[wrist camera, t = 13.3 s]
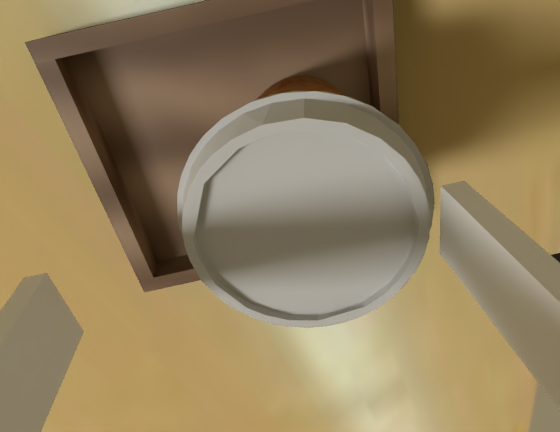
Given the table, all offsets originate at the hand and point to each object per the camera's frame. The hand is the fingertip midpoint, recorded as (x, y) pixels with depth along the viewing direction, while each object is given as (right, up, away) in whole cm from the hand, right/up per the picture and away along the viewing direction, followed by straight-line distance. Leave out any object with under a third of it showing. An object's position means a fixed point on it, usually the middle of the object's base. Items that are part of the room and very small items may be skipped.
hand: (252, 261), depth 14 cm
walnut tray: (-1, +6, +12) cm, 14 cm away
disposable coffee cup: (+2, +7, +11) cm, 13 cm away
